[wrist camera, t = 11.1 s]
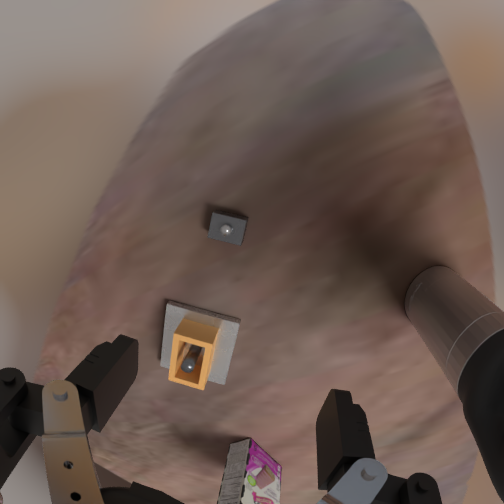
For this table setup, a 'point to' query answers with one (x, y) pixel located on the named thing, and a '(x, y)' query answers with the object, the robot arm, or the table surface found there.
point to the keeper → (196, 353)
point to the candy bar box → (250, 476)
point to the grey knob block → (227, 227)
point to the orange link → (196, 336)
